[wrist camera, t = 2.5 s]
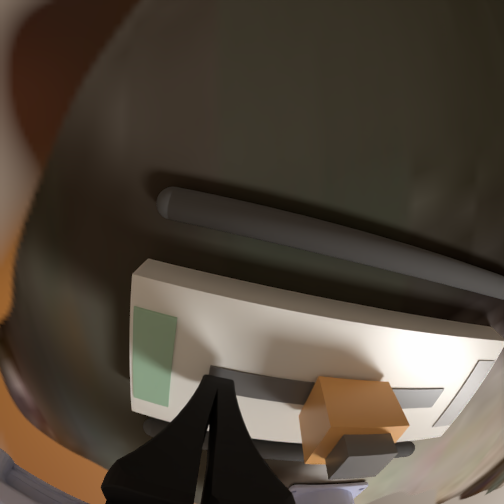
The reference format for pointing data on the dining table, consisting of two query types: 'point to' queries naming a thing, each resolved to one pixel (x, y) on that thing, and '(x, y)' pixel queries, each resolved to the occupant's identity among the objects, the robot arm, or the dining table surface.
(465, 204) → the dining table surface
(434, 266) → the dressed cords
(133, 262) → the dining table surface
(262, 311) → the white slider switch panel
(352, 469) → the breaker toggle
